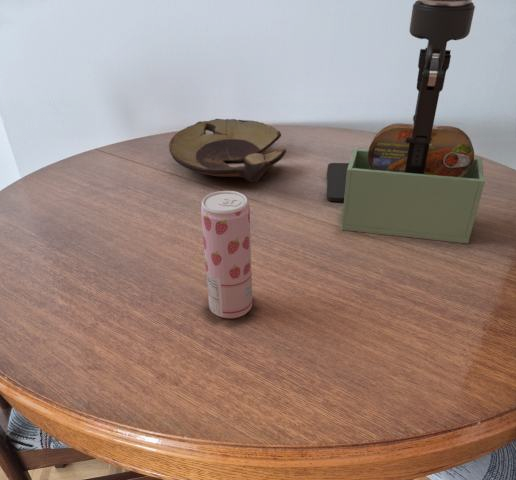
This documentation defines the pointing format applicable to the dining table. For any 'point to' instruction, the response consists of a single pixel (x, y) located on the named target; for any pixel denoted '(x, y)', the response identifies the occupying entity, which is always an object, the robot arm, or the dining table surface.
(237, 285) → the beverage can
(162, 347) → the dining table surface
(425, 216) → the waste bin
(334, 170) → the phone
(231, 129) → the broken brown bowl
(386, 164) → the tin
